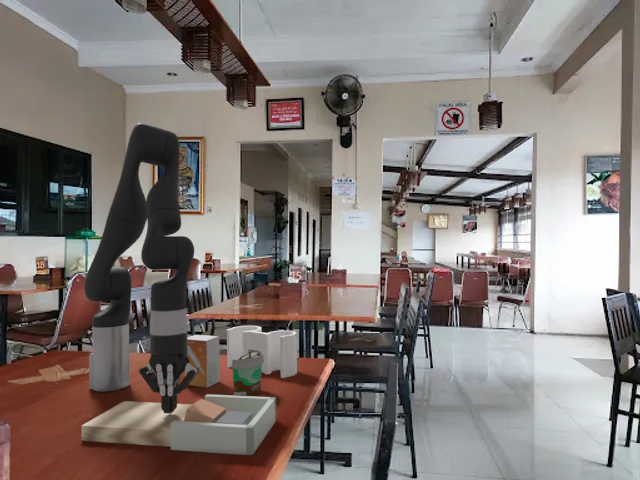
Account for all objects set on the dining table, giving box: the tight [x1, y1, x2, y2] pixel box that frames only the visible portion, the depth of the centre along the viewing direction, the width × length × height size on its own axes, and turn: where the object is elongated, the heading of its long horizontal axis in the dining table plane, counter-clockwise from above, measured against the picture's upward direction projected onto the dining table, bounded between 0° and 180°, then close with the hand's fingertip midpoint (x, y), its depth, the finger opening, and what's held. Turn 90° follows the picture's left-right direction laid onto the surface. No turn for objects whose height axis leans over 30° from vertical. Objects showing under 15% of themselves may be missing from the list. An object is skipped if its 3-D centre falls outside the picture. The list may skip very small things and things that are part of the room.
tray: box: [170, 394, 277, 456], centre depth 90 cm, size 16×16×5 cm
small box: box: [182, 334, 221, 389], centre depth 124 cm, size 8×6×13 cm
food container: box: [231, 349, 264, 397], centre depth 116 cm, size 12×6×10 cm, turn 168°
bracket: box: [226, 325, 298, 379], centre depth 138 cm, size 25×10×12 cm, turn 54°
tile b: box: [213, 411, 252, 425], centre depth 90 cm, size 6×6×3 cm
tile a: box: [184, 398, 226, 423], centre depth 91 cm, size 6×6×3 cm
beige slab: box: [80, 400, 193, 448], centre depth 94 cm, size 20×14×3 cm
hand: (169, 412), depth 93 cm, fingers closed
